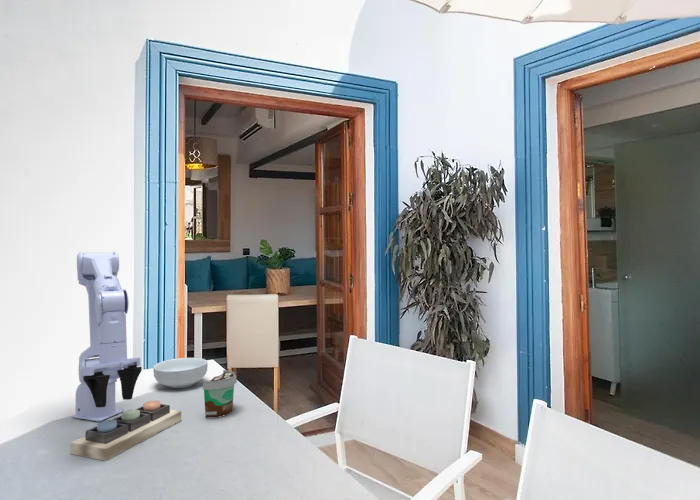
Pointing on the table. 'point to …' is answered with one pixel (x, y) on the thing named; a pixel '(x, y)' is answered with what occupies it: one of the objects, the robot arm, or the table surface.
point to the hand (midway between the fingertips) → (114, 403)
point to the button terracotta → (151, 406)
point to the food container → (219, 394)
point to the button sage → (130, 415)
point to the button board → (124, 434)
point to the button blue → (106, 426)
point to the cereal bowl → (180, 372)
